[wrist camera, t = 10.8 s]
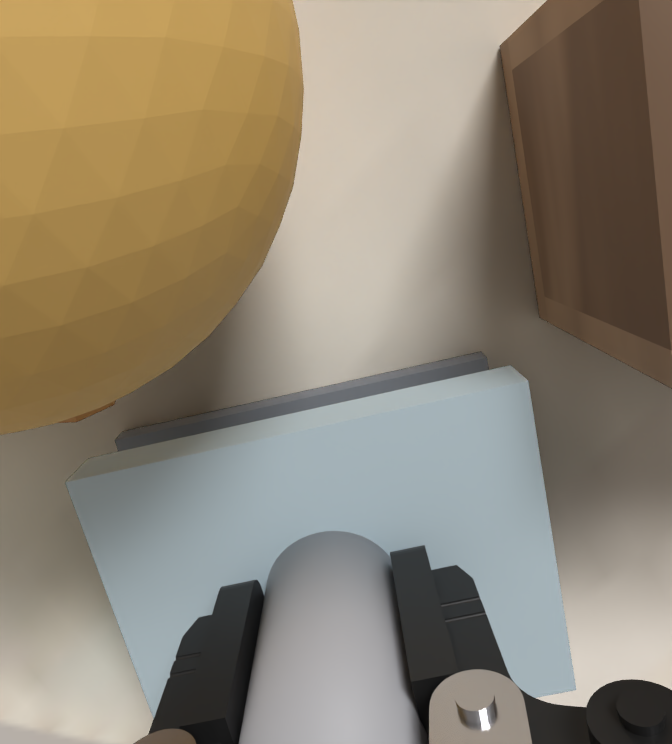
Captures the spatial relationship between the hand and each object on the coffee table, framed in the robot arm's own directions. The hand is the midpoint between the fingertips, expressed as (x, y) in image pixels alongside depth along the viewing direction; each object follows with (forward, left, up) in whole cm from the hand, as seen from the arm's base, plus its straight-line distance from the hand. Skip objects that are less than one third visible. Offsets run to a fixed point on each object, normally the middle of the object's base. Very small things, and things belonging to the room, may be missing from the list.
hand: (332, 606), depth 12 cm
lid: (0, 0, -2) cm, 2 cm away
